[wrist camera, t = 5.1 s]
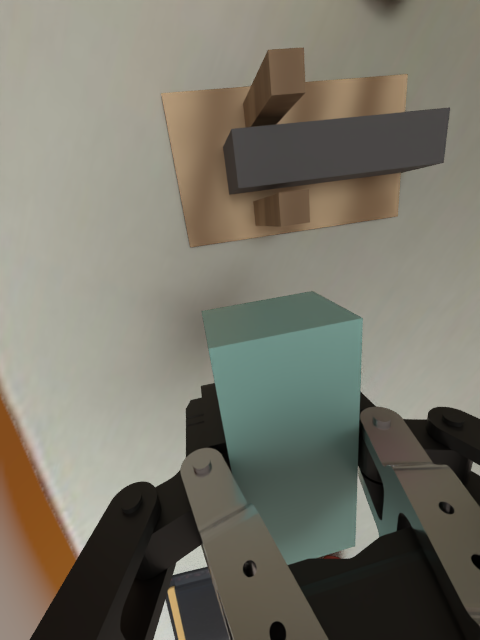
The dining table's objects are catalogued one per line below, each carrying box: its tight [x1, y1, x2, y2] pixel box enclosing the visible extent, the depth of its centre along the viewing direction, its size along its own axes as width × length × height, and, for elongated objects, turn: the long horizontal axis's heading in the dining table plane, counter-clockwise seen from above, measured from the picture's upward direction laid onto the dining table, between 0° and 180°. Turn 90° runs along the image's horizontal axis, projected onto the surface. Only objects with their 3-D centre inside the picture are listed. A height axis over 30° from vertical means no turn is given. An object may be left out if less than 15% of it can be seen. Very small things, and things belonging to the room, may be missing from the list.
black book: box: [166, 567, 230, 640], centre depth 42 cm, size 20×2×15 cm
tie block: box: [202, 291, 363, 565], centre depth 10 cm, size 4×9×3 cm, turn 8°
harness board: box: [161, 48, 408, 247], centre depth 20 cm, size 20×11×7 cm, turn 98°
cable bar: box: [223, 108, 450, 195], centre depth 21 cm, size 16×4×4 cm, turn 98°
